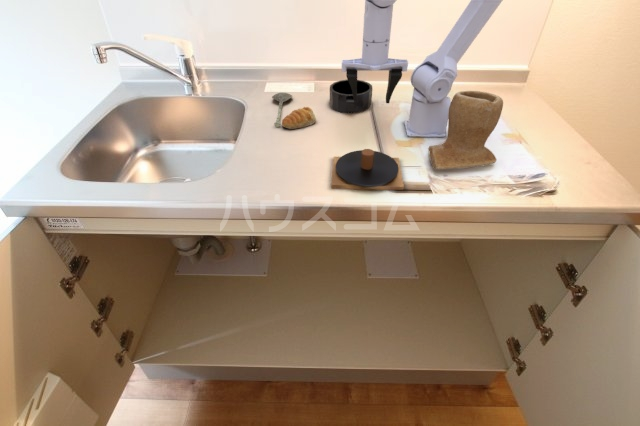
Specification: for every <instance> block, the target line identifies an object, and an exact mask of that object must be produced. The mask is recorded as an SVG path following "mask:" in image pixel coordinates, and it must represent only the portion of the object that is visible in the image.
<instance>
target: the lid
mask: <svg viewBox="0 0 640 426" xmlns="http://www.w3.org/2000/svg"><path fill="white" fill-rule="evenodd" d="M339 157H340V158H339V159H338V161H337V163H336V172H337V174H338V176H339V177H340V178H341V179H342V180H344V181H346V182H347V183H350V184H352V185H356V186H361V187H377V186H382V185H385V184H387V183H389V182H391V181H392V180H394V179H395V178H396V176H397V174H398V170H399V168H398V164H397V163H396V161H395V160H394V159H393V158H394V157H392V156H390V155H389V154H386V153H385V152H384V153H383V152H381V151H377V150H373V149H370V148H364V149H360V150H354V151H350V152H347V153H345V154H343V155H342V156H339Z"/></svg>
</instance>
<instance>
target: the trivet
mask: <svg viewBox="0 0 640 426" xmlns="http://www.w3.org/2000/svg"><path fill="white" fill-rule="evenodd" d="M340 157H341V156H333V160H332V161H333V163H332V172H331V182H330V188H331V189H337V190H339V189H342V190H344V189H345V190H375V191H376V190H377V191H378V190H382V191H404V189H405V185H404V180H403V175H402V174H403V173H402V169H401V163H400V157H392V158H393V159H394V160H395V161H396V163H397V164H398V168H399V170H398V174H397V176H396V178H395V179H394V180H392V181H391V182H389V183H387V184H385V185H382V186H377V187H361V186H356V185H352V184H350V183H347V182H346V181H344V180H342V179H341V178H340V177H339V176H338V174H337V172H336V163H337V161H338V159H339V158H340Z"/></svg>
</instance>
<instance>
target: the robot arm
mask: <svg viewBox="0 0 640 426" xmlns="http://www.w3.org/2000/svg"><path fill="white" fill-rule="evenodd" d="M396 2H397V0H364V13H363V29H362V31H363V33H362V48H361V57H360V58H353V59H352V58H351V59H341V73H345V74H346V80H347V79H348V81H349V84H350V86H351V89H352V93H353V98H354V103H357V80H358V71H359V72H362V71H363V72H365V71H368V72H369V71H371V72H372V71H382V72H383V71H388V79H387V87H386V95H385V103H386V104H390V101H391V98H392V95H393V93H394V91H395V89H396V87H397V85H398V84H399V83H400V81H401V79H402V77H403V72H408V66H409V60H408V59H399V58H391V57H390V58H389V51H390V43H391V32H392V23H393V12H394V4H395V3H396ZM502 2H503V0H470V1H469V2H468V4H467V6H466V7H465V8H464V10H463V12H462V13H461V15H460V16H459V18H458V19H457V21H456V22H455V24H454V25H453V26H452V28H451V29H450V31H449V33H448V34H447V36H446V37H445V38H444V40H443V41H442V43H441V44H440V46H439V47H438V48H437V50H436V51H434V52H432V53H430V54H429V55H427V56H426V57H425V59H424V60H423V62H421V63H420V64H418V65H417V66H416V67H415V68H414V69H413V71H412V73H411V75H410V84H411V86H412V87H413V90H412V91H413V92H412V97H411V103H410V109H409V115H408V120H405V121H404V127H405V131H406V136H407V137H423V138H425V137H427V138H431V137H432V138H442V137H443V138H445V137H446V131H447V128H448V121H449V117H448V113H449V107H450V103H451V101H452V99H451V97H449V96H448V95H449V94H450V92H451V90H452V87H453V83H454V82H455V80H456V79H457V77H458V64H459V62H460V61H461V59H462V57H463V56H464V55H465V54H466V52H467V51H468V50H469V48H470V46H471V45H472V44H473V42H474V41H475V40H476V38H477V37H478V35H479V34H480V33H481V31H482V30H483V29H484V27H485V26H486V25H487V23H488V21H489V20H490V19H491V17H493V15H494V13H495V12H496V10H497V9H498V8H499V6H500V5H501V3H502Z"/></svg>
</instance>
